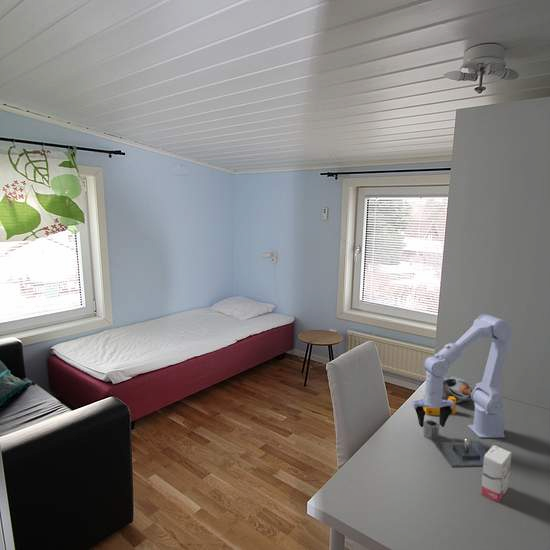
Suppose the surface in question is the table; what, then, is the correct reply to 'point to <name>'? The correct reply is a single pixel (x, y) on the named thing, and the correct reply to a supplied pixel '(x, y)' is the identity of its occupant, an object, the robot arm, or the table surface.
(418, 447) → the table surface
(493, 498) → the ink box
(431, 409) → the yellow curved piece
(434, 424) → the tube
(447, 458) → the grey square base plate
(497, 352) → the robot arm
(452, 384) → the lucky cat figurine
